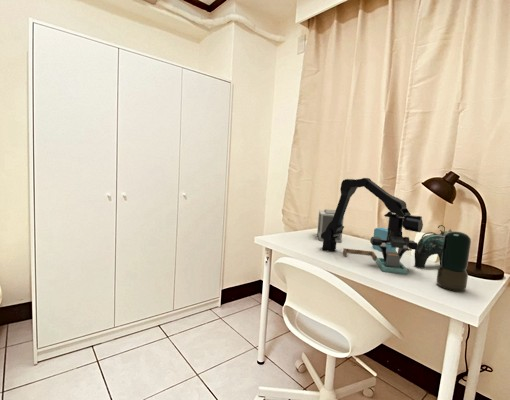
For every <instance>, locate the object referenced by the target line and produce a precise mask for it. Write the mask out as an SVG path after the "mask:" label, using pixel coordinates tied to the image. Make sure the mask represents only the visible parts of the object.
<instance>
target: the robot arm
mask: <svg viewBox="0 0 510 400" xmlns="http://www.w3.org/2000/svg"><path fill="white" fill-rule="evenodd" d="M363 187H364V188H365V189H366V190H368V191H369V192H370V193H371V194H372V195H373V196H376V197H377V198H378V199H379V200H380V201H382V203H383V204H384V206H385V207H386V209H387V210H388V212H387V213H385V214H384V217H386V218H388V225H387V228H386V229H387V230H388V232H387V238H386V239H387V240H382V239H381V238H380V237H374V236H371V237H370V240H369V243H370V244H371V245H372V246H373V245H376V246H379V247H380V248H381V250H382V251H381V253H382V258H384V261H386V248H387V247H386V246H385V245H386V244H389V245H391V246H392V247H393V248H396V249H397V250H398V251H397V253H398V255H399V256H400V260H401V259H402V257H403V255H404V254H405V253H406V252H408V251H410V250H414V251H415V250H417V249H418V242H415V241H414V240H411V239H410V237H409V236H403V229H404V231H410V232H414V233H415V232H416V233H421V232H422V230H423V227H424V223H423V217H422V216H421V215H412V214H411V213H410V211H409V209H408V208H407V202H405V200H403V199H400V198H398V197H396V196H395V195H392V194H390V193H389V192H387V191H386V190H384V189H383V188H382V187H380V185H378V184H376V182H374V181H373V180H371V178H369V177H362V178H358V179H357V178H356V179H353V178H345V179H343V180H342V182H341V184H340V197H339V200H338V203H337V206H336V209H335V210H336V211H335V214H334V217H333V220H332V221H331V222H330V223H329V224H328V226H327V228H326V230H325V232H323V233H322V234H321V238H322V239H323V242H322V247H321V248H322V251H325V252H326V251H328V252H335V251H336V250H337V243H336V241H335V240H336V239H335V238H338V236H339V235H340V234H341V233H342V234H343V230H344V228H345V226H344V225H343V226H342V219H343V217H345V214H346V211H347V207H348V205H349V202H350V200H351V197H352V196H353V195H354V194H355V193H356V191H357V189H358V188H363ZM343 220H344V219H343ZM389 242H390V243H389Z"/></svg>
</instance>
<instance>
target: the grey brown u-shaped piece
mask: <svg viewBox="0 0 510 400" xmlns="http://www.w3.org/2000/svg"><path fill="white" fill-rule="evenodd" d="M342 254H343V256H344V258H347V257H348V254H354V255H362V256H363V255H364V256H371V257H372V259H373V261H376V257H377V258H378V256H377V255H376V253H375V251H372V250H364V249H355V248H354V249H353V248H346V247H345V248H343V250H342Z"/></svg>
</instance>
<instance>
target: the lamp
mask: <svg viewBox="0 0 510 400" xmlns="http://www.w3.org/2000/svg"><path fill="white" fill-rule="evenodd" d="M471 243H472V241H471V238H470V236H469V235H468V234H467V233H464V232H462V231H457V230H456V231H452V232H448V233H447V234H446V235H445V236H444V241H443V249H442V256H441V266H440V265H439V267H438V268H437V273H436V283H437V285H439V287H441V288H443V289H446V290H449V291H454V292H462V291H464V290H466V289H467V285H468V277H469V274H468V272H467V268H468V265H469V258H470V251H471Z"/></svg>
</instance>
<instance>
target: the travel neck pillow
mask: <svg viewBox="0 0 510 400" xmlns="http://www.w3.org/2000/svg"><path fill="white" fill-rule="evenodd" d="M440 227H442V228H443V230H441V229H440V230H439V232H440V233H439V234H438V233H436V232H432V231H429V232H425V233H424V234H422V236H421V238H420V239H419V240H418V241H417V244H418V249H417V250H414V267H415V268H418V269H424V268H426V263H427V260H428V259H429V258H430V257H431V256H433V255H437V256H438V258H439V267H440V266H441V256H442V249H443V241H444V236H445V235H446V234H447V233H448V232H453V231H452V229H451V228H449V230H448V231H447V230H446V227H445V225H442V224H441V225H438V226H437V229H439V228H440ZM445 230H446V231H445Z"/></svg>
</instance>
